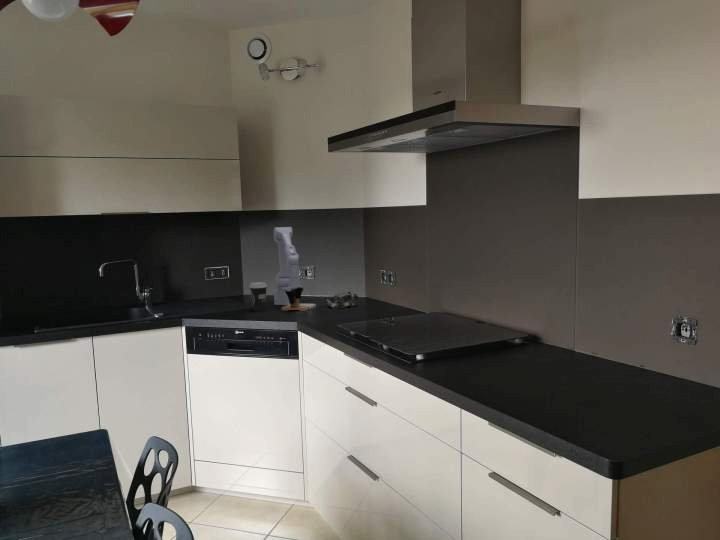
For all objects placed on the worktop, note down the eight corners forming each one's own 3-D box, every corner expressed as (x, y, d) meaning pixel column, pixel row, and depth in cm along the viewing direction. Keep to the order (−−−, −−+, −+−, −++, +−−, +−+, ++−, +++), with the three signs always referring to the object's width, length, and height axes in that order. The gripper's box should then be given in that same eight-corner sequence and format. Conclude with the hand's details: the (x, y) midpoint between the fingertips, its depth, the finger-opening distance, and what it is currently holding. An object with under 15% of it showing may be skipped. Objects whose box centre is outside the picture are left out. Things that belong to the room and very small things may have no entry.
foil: (330, 298, 321) (351, 285, 316) (340, 315, 320) (361, 301, 315) (322, 301, 310) (343, 286, 305) (332, 318, 309) (354, 304, 304)
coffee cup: (255, 312, 301) (254, 284, 299) (247, 310, 308) (245, 283, 307) (271, 310, 307) (270, 282, 305) (262, 308, 314) (261, 281, 313)
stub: (281, 310, 307) (281, 299, 306) (285, 308, 311) (285, 297, 311) (305, 311, 302) (305, 299, 302) (309, 309, 307) (309, 298, 306)
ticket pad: (286, 308, 312) (285, 305, 311) (293, 305, 320) (292, 303, 320) (309, 309, 307) (309, 306, 307) (316, 306, 316) (316, 303, 316)
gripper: (295, 279, 296) (296, 305, 298) (306, 275, 310) (307, 300, 311) (282, 279, 298) (283, 304, 300) (294, 275, 312) (295, 300, 314)
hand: (294, 302), depth 306 cm, fingers open, 7 cm apart
